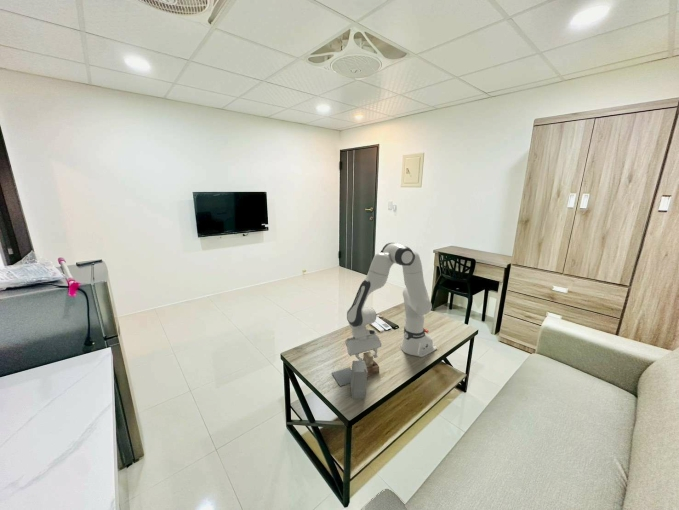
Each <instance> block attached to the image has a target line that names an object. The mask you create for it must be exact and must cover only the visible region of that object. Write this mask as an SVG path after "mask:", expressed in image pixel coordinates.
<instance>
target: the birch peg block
mask: <svg viewBox="0 0 679 510" xmlns="http://www.w3.org/2000/svg"><path fill="white" fill-rule="evenodd" d="M362 354H363V355H362V360H363V361H365V364H366V366H367V367H366V368H369V367H372V366H373V360H374V356H373V355H374V354H373V353H372V352H371V351H367V352H363V353H362Z"/></svg>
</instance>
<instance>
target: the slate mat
mask: <svg viewBox="0 0 679 510" xmlns="http://www.w3.org/2000/svg"><path fill="white" fill-rule="evenodd" d="M331 374H332V376H333V378H334V379H335V381H336V382H337V384H338V385H339V387H343V386H347V385H351V375H352V367H347V368H343V369H339V370H336V371H332V372H331Z"/></svg>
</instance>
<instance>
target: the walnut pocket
mask: <svg viewBox="0 0 679 510" xmlns="http://www.w3.org/2000/svg"><path fill="white" fill-rule="evenodd" d="M367 372H368V373H367V377H370V376H373V375H376V374H379V373H380V366H379V364H378V363H377V362H376V361H375V360H374V359H373V366H372V367H369V368H367Z"/></svg>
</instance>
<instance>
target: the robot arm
mask: <svg viewBox="0 0 679 510" xmlns="http://www.w3.org/2000/svg"><path fill="white" fill-rule="evenodd" d="M394 264H396V265H399V266H402V274H403V280H404V285H405V288H404V289H403V291H402V298H403V302H404V314H405V319H404V321H405V324H404V327H403V338H402V341H401V345H400V349H401V351H402V352H404V353H405V354H408V355H409V356H410V355H411V356H416V357H420V358H424V357H426V356H427V355H429V354H430V353H433V352H434V351H436V350H437V346H436V345H435V344H434V341H433V339H432V337H431V336H430V335H428V334H429V329H426V328H425V327H424V325H425V315H427V314H429V313H430V312H431V311H432V309H433V304H432V302H431V300H430V297H429V293H428V290H427V287H426V285H425V280H424V279H425V278H424V273H423V271H424V270H423V265H422V260H421V257H420V254H419V253H418V252H416V251H413V249H411V248H410V247H408V246H406V245H403V244H401V243H396V242H388V243H386V244H385V245H384V246H383V247H382V249H381V251H380V252H377V253H375V254H374V256H373V258H372V260H371V263H370V266H369V269H368V272H367V275H366V276H365V278H364V280H363V281H362V282H361V283H360V285H359V288H358V290H357V293H356V294H355V298H354V299H353V302H352V304H351V306H350V307H349V309H348V310H347V311H346V320H347V321H348V325H349V327H350V329H351V333H352V337H349V338H346V339H345V341H344V342H345V346H346V350H347V355H348V356H350V357H353V356H354V357H356V360H358V361H363V357H360V354H363V353H366V352H371V351H373V352H374V354H373V359H377V358H379V357H378V356H379V355H378V349H380V348H381V347H382V346H383V345H382V342H381V339H380V337H379V336H378V334H377V331H376V330H375V329H369V328H367V326H368V325H373V324H374V323H375V322H376V319H377V311H376V310H375V309H374V308H373V307H369V306H368V307H365V304H366V301H367V299H368V297H369V295H370V294H371V293H373V292H374V291H377V290H379V289H381V288H383V287H384V286H385V284H386V283H387V281H388V278H389V276H390V275H389V274H390V270H391V268H392V266H393V265H394Z"/></svg>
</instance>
